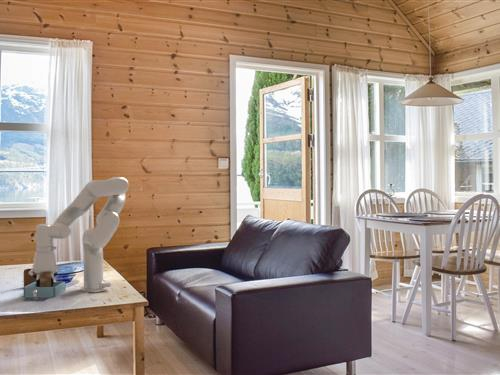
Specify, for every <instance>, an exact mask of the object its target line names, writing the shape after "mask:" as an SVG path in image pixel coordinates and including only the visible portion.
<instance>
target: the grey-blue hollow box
mask: <svg viewBox="0 0 500 375" xmlns="http://www.w3.org/2000/svg"><path fill="white" fill-rule="evenodd" d="M33 296H34V297H24V298H23V299H21V300H20V302H45V301H47V300H49V299H50V297H37V290H34V291H33Z"/></svg>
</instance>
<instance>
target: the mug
mask: <svg viewBox="0 0 500 375" xmlns="http://www.w3.org/2000/svg"><path fill="white" fill-rule="evenodd" d="M32 268H33V267H31V268H26V269H23V287H25V286H27V285H29V284H31V283H34V282H36V279H35V278H34V277H33V276H31V275H30V274H29V271H30V270H31V269H32ZM33 274H35V275H36V273H35V272H34V271H33Z"/></svg>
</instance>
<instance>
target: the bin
mask: <svg viewBox="0 0 500 375" xmlns="http://www.w3.org/2000/svg"><path fill="white" fill-rule="evenodd" d="M66 285H67V284H66V281H54V285H53V287H38V286H36V282H34V283H31V284H29V285H27V286H25V287H24V286H23V298H27V297H34V296H33V291H34V290H37V298H57V297H58V296H60V295H61V294H63V293H64V292H66Z"/></svg>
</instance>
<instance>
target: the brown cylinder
mask: <svg viewBox="0 0 500 375" xmlns="http://www.w3.org/2000/svg"><path fill="white" fill-rule="evenodd" d="M39 280H40V287H51V272H40V277H39Z"/></svg>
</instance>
